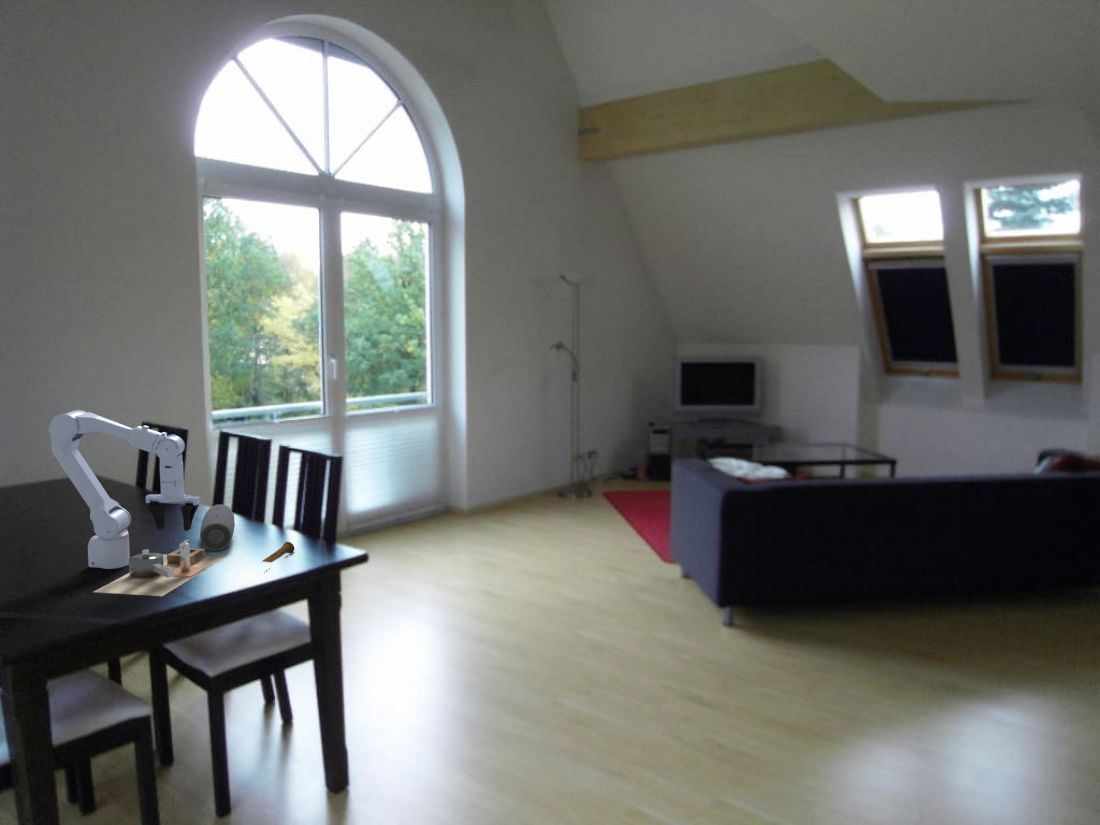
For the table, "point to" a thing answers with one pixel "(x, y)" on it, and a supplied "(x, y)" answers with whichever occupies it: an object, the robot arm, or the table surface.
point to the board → (154, 581)
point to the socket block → (195, 556)
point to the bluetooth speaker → (217, 527)
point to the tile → (187, 574)
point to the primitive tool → (280, 552)
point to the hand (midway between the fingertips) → (174, 529)
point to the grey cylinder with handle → (148, 565)
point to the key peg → (185, 556)
